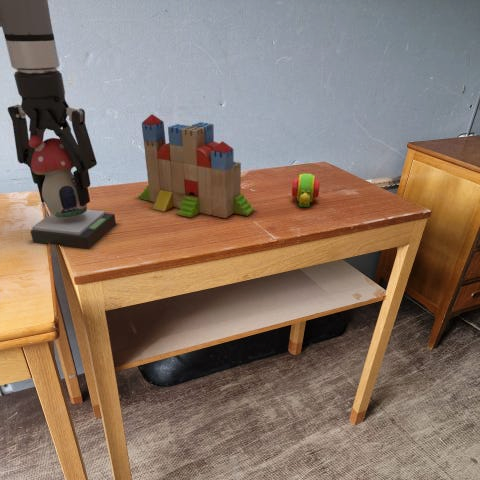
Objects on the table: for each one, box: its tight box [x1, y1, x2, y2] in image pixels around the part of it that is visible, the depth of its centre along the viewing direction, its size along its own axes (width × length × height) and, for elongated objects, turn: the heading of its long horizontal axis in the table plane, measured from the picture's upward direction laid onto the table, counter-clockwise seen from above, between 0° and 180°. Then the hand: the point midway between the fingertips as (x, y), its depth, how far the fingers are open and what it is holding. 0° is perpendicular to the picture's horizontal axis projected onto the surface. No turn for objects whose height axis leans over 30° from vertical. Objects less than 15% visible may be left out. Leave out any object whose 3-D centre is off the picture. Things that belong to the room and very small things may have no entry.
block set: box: [138, 113, 255, 219], centre depth 99 cm, size 28×14×19 cm, turn 61°
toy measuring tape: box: [291, 173, 321, 208], centre depth 109 cm, size 6×19×7 cm, turn 171°
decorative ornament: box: [29, 135, 88, 217], centre depth 85 cm, size 9×6×15 cm
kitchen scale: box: [30, 209, 117, 249], centre depth 90 cm, size 12×12×3 cm
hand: (65, 201), depth 88 cm, fingers closed on decorative ornament, 7 cm apart
